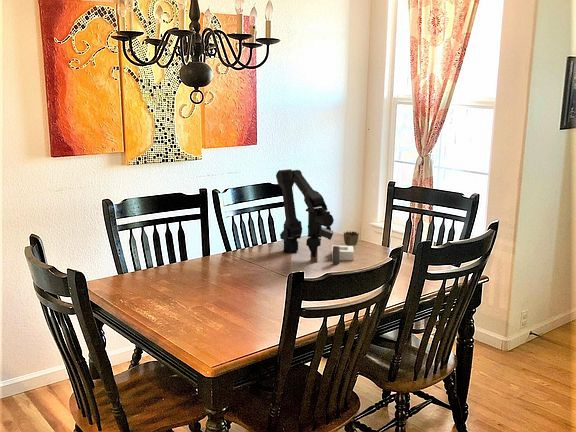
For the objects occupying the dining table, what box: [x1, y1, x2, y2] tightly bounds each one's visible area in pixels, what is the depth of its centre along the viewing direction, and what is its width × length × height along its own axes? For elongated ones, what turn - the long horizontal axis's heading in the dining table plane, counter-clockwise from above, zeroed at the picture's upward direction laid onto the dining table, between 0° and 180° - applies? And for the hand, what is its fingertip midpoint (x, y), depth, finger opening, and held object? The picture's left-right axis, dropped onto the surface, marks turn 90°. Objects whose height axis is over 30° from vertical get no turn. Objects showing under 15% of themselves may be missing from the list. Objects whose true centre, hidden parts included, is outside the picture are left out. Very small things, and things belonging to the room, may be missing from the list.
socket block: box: [331, 244, 355, 261], centre depth 275 cm, size 10×10×4 cm
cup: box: [343, 231, 360, 249], centre depth 288 cm, size 8×7×8 cm
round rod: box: [332, 245, 341, 266], centre depth 264 cm, size 3×3×8 cm
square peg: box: [310, 246, 319, 263], centre depth 268 cm, size 3×3×8 cm
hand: (314, 255), depth 268 cm, fingers open, 4 cm apart
